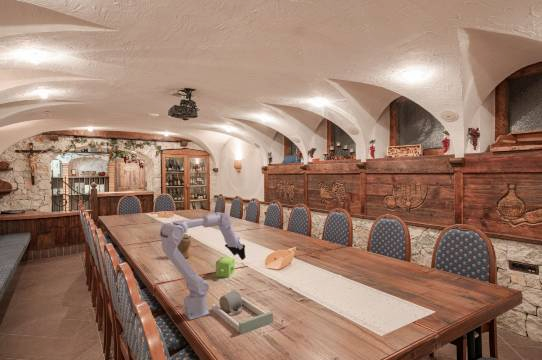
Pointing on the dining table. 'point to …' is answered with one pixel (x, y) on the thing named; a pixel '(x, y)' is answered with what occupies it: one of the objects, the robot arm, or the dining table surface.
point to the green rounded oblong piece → (225, 267)
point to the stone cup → (184, 246)
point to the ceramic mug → (231, 302)
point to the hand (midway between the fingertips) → (239, 256)
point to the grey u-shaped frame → (250, 323)
